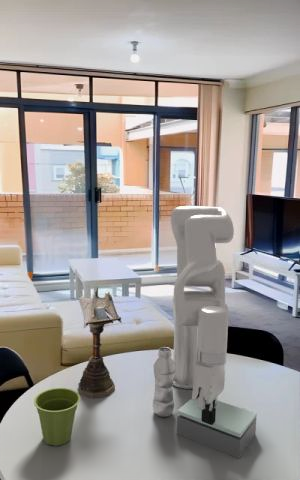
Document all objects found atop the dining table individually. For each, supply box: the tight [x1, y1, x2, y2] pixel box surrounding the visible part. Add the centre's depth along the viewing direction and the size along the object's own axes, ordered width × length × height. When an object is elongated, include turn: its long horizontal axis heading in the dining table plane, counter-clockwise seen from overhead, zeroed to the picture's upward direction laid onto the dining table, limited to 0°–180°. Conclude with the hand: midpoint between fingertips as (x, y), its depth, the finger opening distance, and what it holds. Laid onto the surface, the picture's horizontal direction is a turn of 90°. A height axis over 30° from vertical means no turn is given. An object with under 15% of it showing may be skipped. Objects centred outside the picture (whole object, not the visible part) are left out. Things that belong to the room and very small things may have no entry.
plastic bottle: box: [152, 346, 175, 418], centre depth 122 cm, size 6×7×20 cm
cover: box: [177, 397, 258, 437], centre depth 114 cm, size 18×12×1 cm, turn 57°
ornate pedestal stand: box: [78, 284, 122, 399], centre depth 132 cm, size 17×13×35 cm
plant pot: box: [33, 387, 81, 447], centre depth 110 cm, size 12×12×11 cm
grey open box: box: [176, 414, 257, 459], centre depth 114 cm, size 18×12×5 cm, turn 57°
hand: (208, 421), depth 109 cm, fingers closed
